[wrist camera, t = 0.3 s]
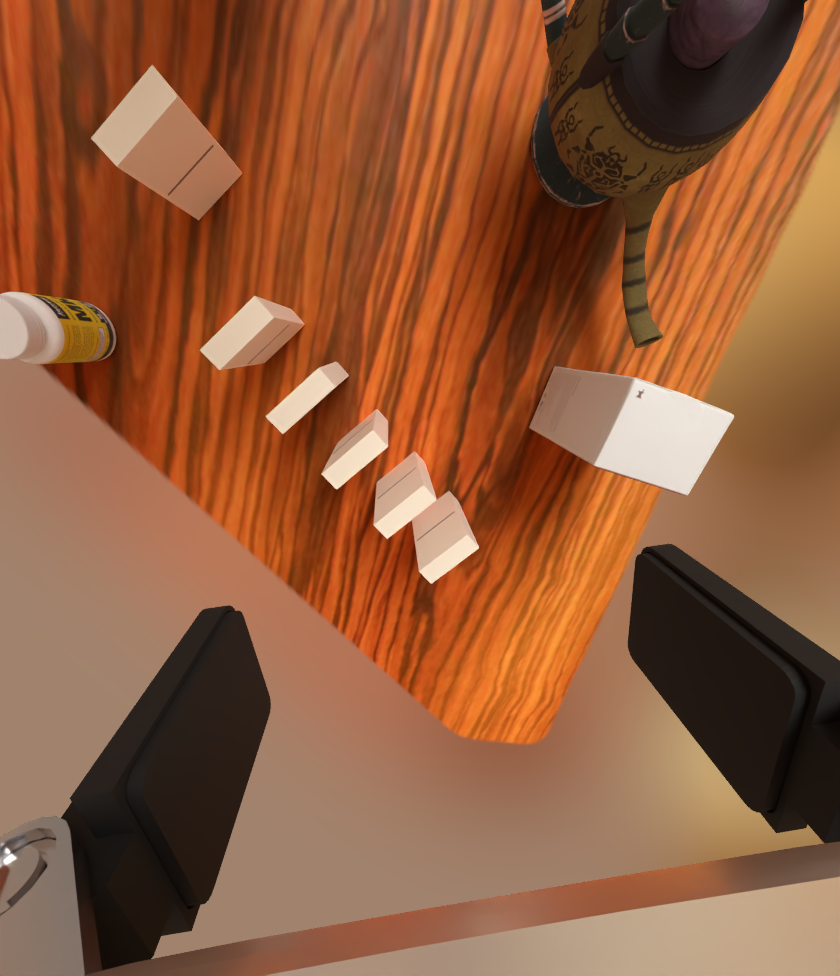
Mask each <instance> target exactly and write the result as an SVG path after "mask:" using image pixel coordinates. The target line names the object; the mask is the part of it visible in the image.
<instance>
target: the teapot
mask: <svg viewBox="0 0 840 976" xmlns="http://www.w3.org/2000/svg"><path fill="white" fill-rule="evenodd" d="M806 1H807V0H575V3H574V5H573V7H572V9H571V11H570V13H569V15H568V17H567V15H566V6H565V0H541V4H542V11H543V18H544V25H545V32H546V39H547V46H548V48H547V53H548V57H549V60H550V64H551V67H552V70H551V75H550V80H549V84H548V92H547V94H546V96H545V98H544V100H543V102H542V104H541V106H540V108H539V110H538V112H537V114H536V117H535V122H534V127H533V132H532V137H531V145H532V161H533V164H534V168H535V171H536V174H537V177H538V180H539V181H540V183H541V184H542V186H543V187H544V188H545V190H546V191H547V193H548V194H549V195H550V196H551V197H553V198H554V199H556V200H557V201H558V202H560V203H561V204H563V205H566V206H571V207H575V208H585V207H591V206H596V205H598V204H600V203H602V202H603V201H605V200H607V199H609V198H611V197H616V198H621V199H622V200H623V206H624V211H625V217H626V229H625V244H624V257H623V276H622V292H623V301H624V307H625V313H626V318H627V322H628V325H629V329H630V332H631V336H632V339H633V342H634V345H635V348H640V347H643V346H647V345H649V344H652V343H654V342H656V341H658V340H659V339H661V338H662V337H663V335H662V334H661V332H660V331H659V329H658V328H657V326H656V325H655V323H654V322H653V320H652V318H651V314H650V311H649V308H648V300H647V293H646V278H645V265H644V263H645V248H646V242H647V236H648V233H649V229H650V225H651V222H652V218H653V215H654V213H655V211H656V209H657V207H658V205H659V203H660V202H661V200H662V198H663V196H664V194H665V192H666V190H667V189H668V187H669V186H670V185H672V184H674V183H675V182H677V181H679V180H681V179H683V178H684V177H686V176H688V175H690V174H692V173H693V172H695V171H696V170H698V169H699V168H701V167H702V166H704V165H705V164H707V163H708V162H709V161H710V160H711V159H712V158H713V157H714V156H715V155H716V154H717V153H718V152H719V151H720V150H721V149H722V148H723V147H724V146H725V145H726V144H727V143H728V142H729V141H730V140H731V139H732V138H733V137H734V136H735V135H736V133H737V132H738V131H739V130H740V129H741V128H742V127H743V126H744V124H745V123H746V122H747V121H748V119H749V118H750V117H751V115H752V114H753V113H754V112H755V110H756V109H757V108H758V106H759V105H760V103H761V102H762V100H763V99H764V97H765V96H766V94H767V93H768V91H769V90H770V88H771V87H772V85H773V83H774V82H775V80H776V78H777V77H778V75H779V74H780V72H781V70H782V69H783V67H784V66H785V64H786V62H787V61H788V59H789V57H790V54H791V51H792V49H793V46H794V43H795V40H796V37H797V35H798V32H799V29H800V26H801V24H802V21H803V13H804V3H805V2H806Z"/></svg>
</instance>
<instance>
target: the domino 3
mask: <svg viewBox="0 0 840 976" xmlns="http://www.w3.org/2000/svg"><path fill="white" fill-rule="evenodd" d="M348 376H349V375H348V374H347V373H346V371H345V370H344V369H343V368H342V367H341V366H340V365H339V363H338V362H334V363H331V364H328V365H325V366H322V367H319V368H318V369H317V370H316V371H315V372H313V373H312V374H311V375H310V376H309V377H308V378H307V379H306V380H305V381H304V382H303V383H301V384H300V385H299V386H298V387H297V388H296V389H295V390H294V391H293V392H292V393H291V394H289V395H288V396H287V397H286V398H285V399H284V400H283V401H282V402H281V403H280V404H279V405H277V406H276V407H275V408H274V409H273V410H272V411H271V412H270V413H269V414H268V415H267V416H265V417H266V418H267V419H268V420H269V421H270V422H271V423H272V424H273V425H274V426H275V427H276V428H277V429H278V430H279V431H280V432H281V433H282V434H284V433H285V432H286V431H287V430H288V429H289V428H291V427H292V426H293V425H294V424H295V423H296V422H297V421H299V420H300V419H301V418H302V417H303V416H305V415H306V414H307V413H308V412H309V411H310V410H311V409H312V408H314V407H315V406H316V405H317V404H318V403H319V402H320V401H321V400H322V399H324V398H325V397H326V396H327V395H328V394H329V393H330V392H331V391H333V390H334V389H335V388H336V387H337V386H338V385H339V384H340V383H341V382H343V381H344V380H345V379H346V378H347V377H348Z"/></svg>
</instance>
